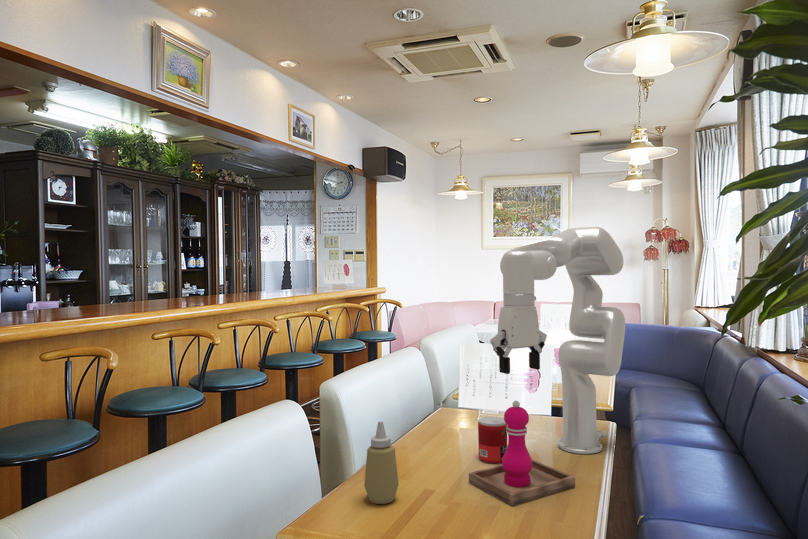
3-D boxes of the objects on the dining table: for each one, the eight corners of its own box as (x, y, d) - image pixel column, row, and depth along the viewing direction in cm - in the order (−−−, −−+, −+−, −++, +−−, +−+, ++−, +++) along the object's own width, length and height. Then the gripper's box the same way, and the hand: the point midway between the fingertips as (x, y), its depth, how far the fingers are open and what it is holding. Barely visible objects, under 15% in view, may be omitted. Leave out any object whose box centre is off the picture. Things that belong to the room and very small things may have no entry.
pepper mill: (535, 479, 136) (534, 398, 136) (528, 490, 130) (527, 405, 129) (506, 475, 139) (505, 396, 139) (498, 485, 133) (497, 402, 133)
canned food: (507, 465, 149) (506, 424, 149) (477, 463, 151) (477, 423, 151) (507, 455, 157) (507, 417, 157) (479, 454, 158) (478, 415, 158)
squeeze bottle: (386, 509, 122) (385, 429, 122) (357, 502, 126) (356, 424, 127) (405, 496, 129) (404, 420, 129) (377, 490, 133) (376, 415, 133)
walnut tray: (528, 467, 147) (528, 458, 147) (575, 487, 133) (575, 477, 133) (468, 483, 137) (468, 473, 137) (512, 506, 123) (512, 495, 123)
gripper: (534, 299, 143) (535, 365, 143) (481, 302, 134) (482, 372, 134) (555, 300, 136) (556, 369, 136) (501, 303, 127) (502, 377, 127)
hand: (519, 370), depth 135 cm, fingers open, 9 cm apart
